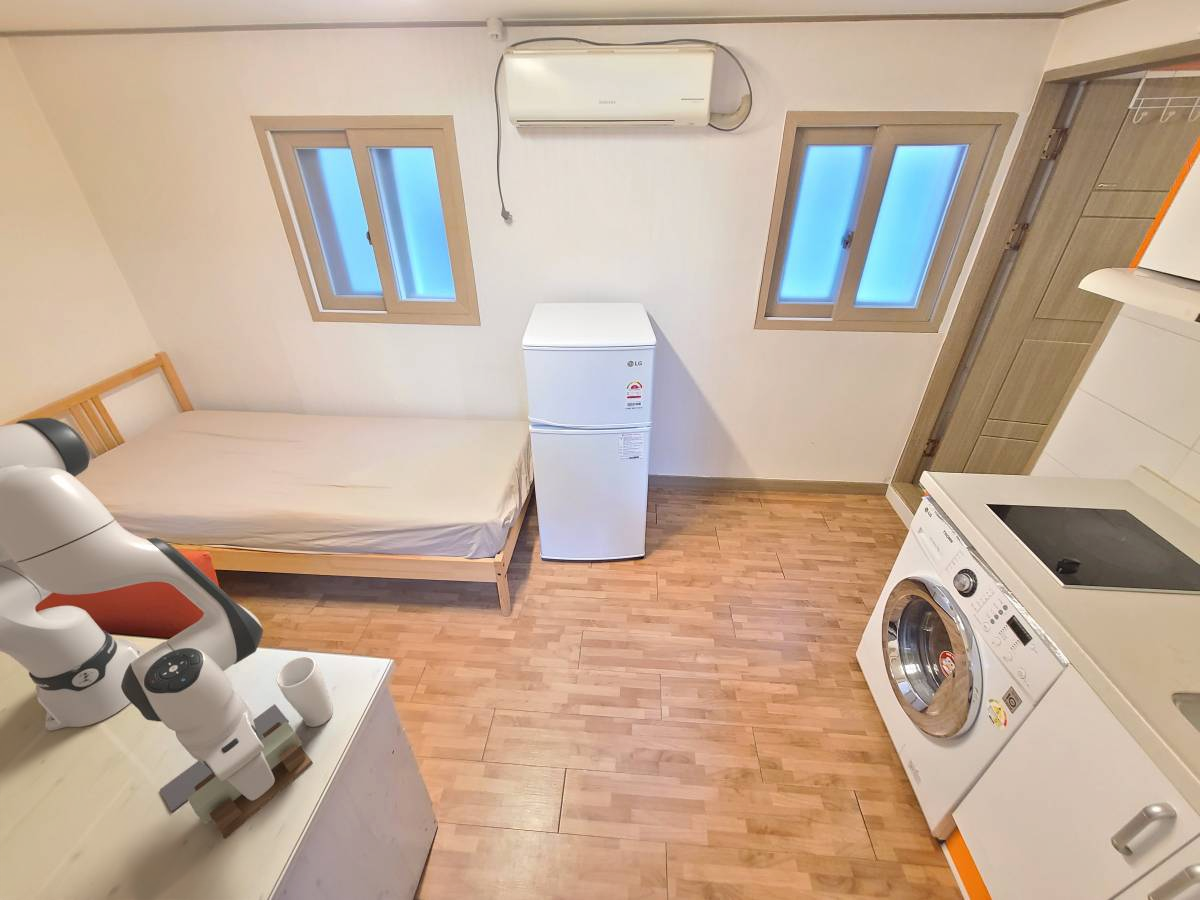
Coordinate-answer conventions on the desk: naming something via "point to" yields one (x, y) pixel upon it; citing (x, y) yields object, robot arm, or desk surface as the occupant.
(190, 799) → the clay strip
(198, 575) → the robot arm
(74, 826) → the desk surface
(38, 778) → the desk surface
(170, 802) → the pad
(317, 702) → the drinking glass
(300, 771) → the rack
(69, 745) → the desk surface
